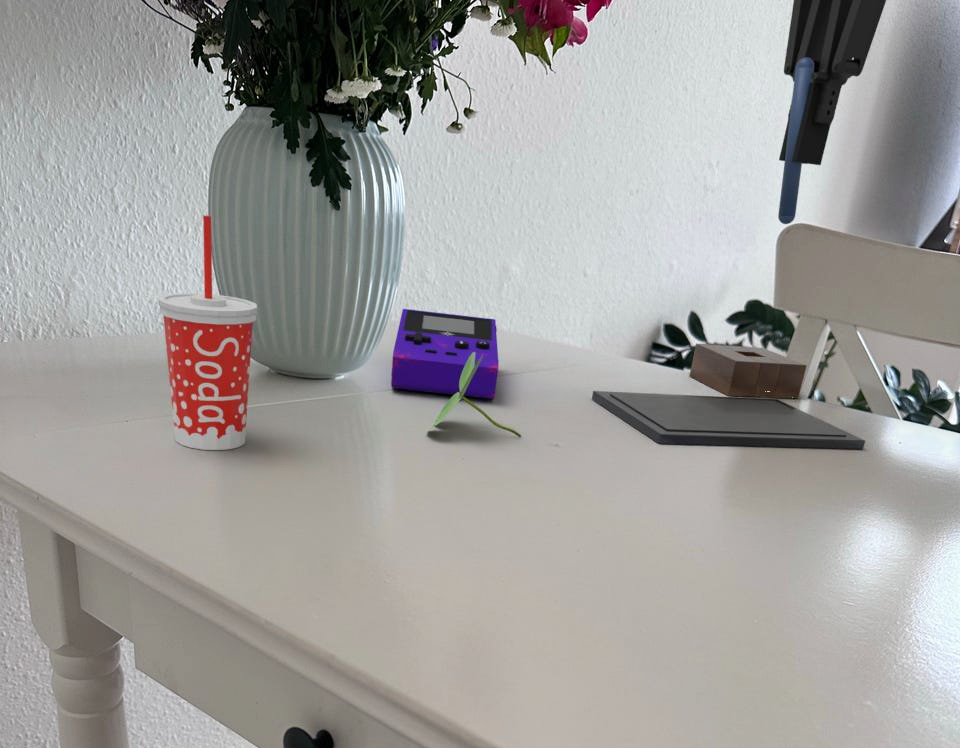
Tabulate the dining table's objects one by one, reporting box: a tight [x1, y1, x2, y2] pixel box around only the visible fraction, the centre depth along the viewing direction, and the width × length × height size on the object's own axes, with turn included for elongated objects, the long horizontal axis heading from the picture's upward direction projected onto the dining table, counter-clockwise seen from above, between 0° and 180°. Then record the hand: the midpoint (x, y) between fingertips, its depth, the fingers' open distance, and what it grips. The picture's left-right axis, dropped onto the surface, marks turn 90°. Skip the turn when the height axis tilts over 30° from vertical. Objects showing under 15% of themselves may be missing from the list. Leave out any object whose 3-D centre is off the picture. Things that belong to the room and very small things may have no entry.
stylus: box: [777, 57, 814, 225], centre depth 91 cm, size 2×2×14 cm
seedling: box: [428, 352, 522, 438], centre depth 74 cm, size 7×8×7 cm
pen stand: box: [688, 343, 808, 399], centre depth 102 cm, size 8×8×4 cm
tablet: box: [591, 390, 866, 450], centre depth 86 cm, size 20×14×1 cm
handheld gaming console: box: [390, 308, 499, 400], centre depth 89 cm, size 9×5×15 cm
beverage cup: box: [157, 214, 258, 451], centre depth 62 cm, size 6×6×14 cm
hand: (799, 162), depth 92 cm, fingers closed on stylus, 1 cm apart
